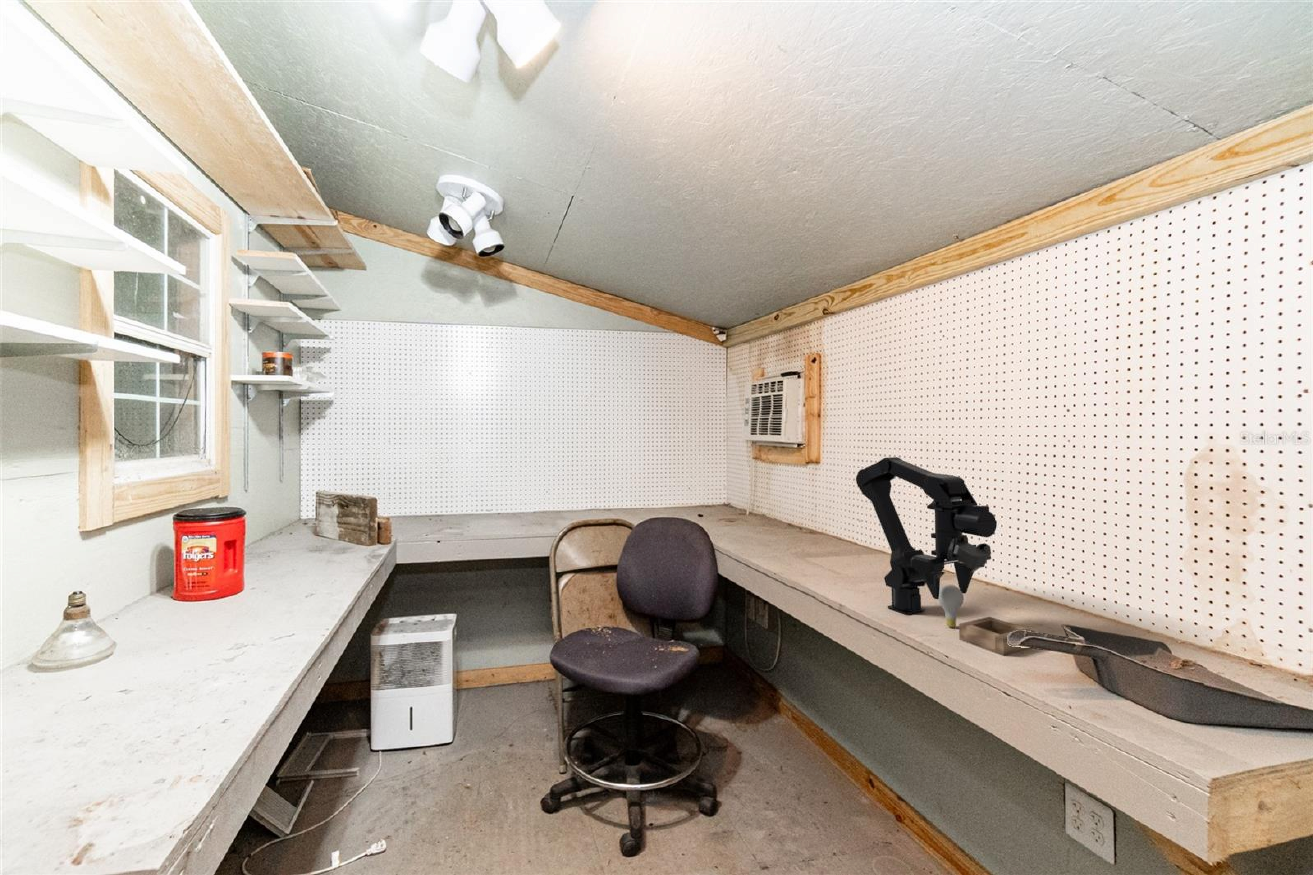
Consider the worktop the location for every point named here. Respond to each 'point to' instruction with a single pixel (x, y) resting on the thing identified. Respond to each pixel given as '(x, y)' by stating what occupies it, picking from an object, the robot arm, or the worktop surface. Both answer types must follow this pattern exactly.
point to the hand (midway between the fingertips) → (949, 596)
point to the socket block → (990, 634)
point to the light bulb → (950, 602)
